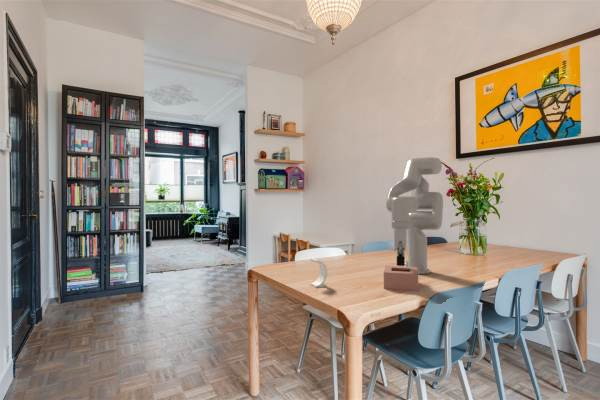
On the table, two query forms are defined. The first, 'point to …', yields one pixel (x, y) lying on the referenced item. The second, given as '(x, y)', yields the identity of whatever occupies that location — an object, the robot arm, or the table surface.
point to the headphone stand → (322, 276)
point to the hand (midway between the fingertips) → (400, 263)
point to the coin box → (401, 278)
